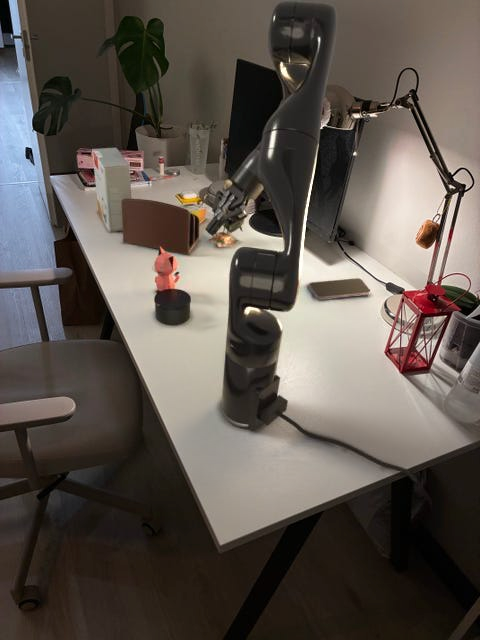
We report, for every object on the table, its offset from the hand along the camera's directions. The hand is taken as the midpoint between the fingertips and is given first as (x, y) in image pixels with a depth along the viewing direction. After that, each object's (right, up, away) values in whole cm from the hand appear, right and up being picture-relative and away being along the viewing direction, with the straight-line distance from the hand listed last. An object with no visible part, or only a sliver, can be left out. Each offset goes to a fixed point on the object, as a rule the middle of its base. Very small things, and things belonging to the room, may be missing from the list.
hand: (208, 233), depth 121 cm
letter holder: (-15, +2, +27) cm, 31 cm away
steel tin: (-8, -20, -3) cm, 22 cm away
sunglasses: (-11, +12, +41) cm, 44 cm away
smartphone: (+33, -13, +12) cm, 38 cm away
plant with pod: (+3, +2, +30) cm, 30 cm away
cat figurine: (-11, -14, +4) cm, 19 cm away
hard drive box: (-31, +10, +36) cm, 48 cm away
